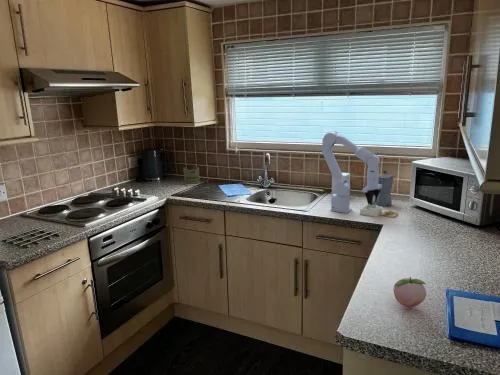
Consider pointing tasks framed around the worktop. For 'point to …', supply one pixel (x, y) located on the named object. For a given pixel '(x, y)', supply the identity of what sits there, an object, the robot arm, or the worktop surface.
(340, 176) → the robot arm
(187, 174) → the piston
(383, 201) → the moka pot
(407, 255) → the worktop surface
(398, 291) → the decorative fruit
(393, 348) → the worktop surface
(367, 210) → the tray
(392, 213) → the stud block
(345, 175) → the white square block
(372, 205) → the coffee tamper
